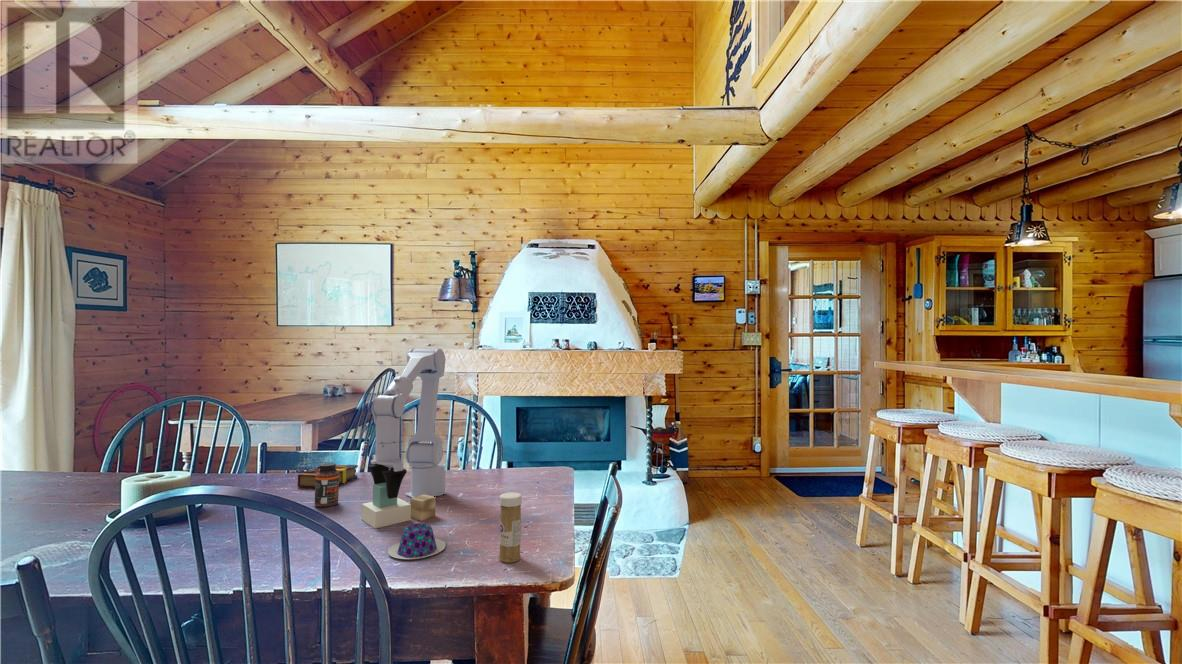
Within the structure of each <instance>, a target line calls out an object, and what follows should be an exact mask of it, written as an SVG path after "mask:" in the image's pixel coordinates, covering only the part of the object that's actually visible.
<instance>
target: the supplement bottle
mask: <svg viewBox="0 0 1182 664" xmlns="http://www.w3.org/2000/svg"><path fill="white" fill-rule="evenodd" d="M336 465H337V464H336V463H335V462H325V463H324V462H323V463H321V464H319V466H320V471H319V472H318V473H317V474H316V480H315V488H314V506H315V507H319V508H328V507H332V506H335V505H337V504H338V503H339V492H340V491H339V490H340V489H339V485H340V484H339V472H338V471H337V470H336V469H335V468H336Z"/></svg>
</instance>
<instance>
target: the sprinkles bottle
mask: <svg viewBox="0 0 1182 664" xmlns="http://www.w3.org/2000/svg"><path fill="white" fill-rule="evenodd" d="M522 497H523V496H522V494H521V493H519V492H512V491H511V492H510V491H509V492H503V493H501V494H500V495H499V505H500V522H499V556H498V559H499V561H500V562H503V563H507V564H510V563H511V564H512V563H515V562H517V561H519V560H520V559H521V539H522V538H521V537H522V535H521V533H522V529H521V528H522V518H521V516H522V515H521V514H522V512H521V510H522V509H521V507H522V505H521V504H522V502H523V501H522Z"/></svg>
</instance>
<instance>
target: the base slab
mask: <svg viewBox="0 0 1182 664" xmlns="http://www.w3.org/2000/svg"><path fill="white" fill-rule="evenodd" d="M411 520H412V518H411V504H410V502H408V501H405V500H403V499H401V498H399V497H397V505H393V506H388V507H383V508H378V507H376V506H375V505H373V501H370V502H365V503H361V521H363V522H365V523H366V524H367V525H369V526H371V527H372V528H374V529H378V528H383V527H387V526H391V525H396V524H401V523H405V522H409V521H411Z"/></svg>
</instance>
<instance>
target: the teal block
mask: <svg viewBox="0 0 1182 664" xmlns="http://www.w3.org/2000/svg"><path fill="white" fill-rule="evenodd" d="M397 498H398V496H397V497H396V498H391V499H389V498H388V496H387V487H386V482H385V483H379V484H374V483H373V484H372V502H373V505H375V506H376V507H378V508H383V507H388V506H393V505H397Z"/></svg>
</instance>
